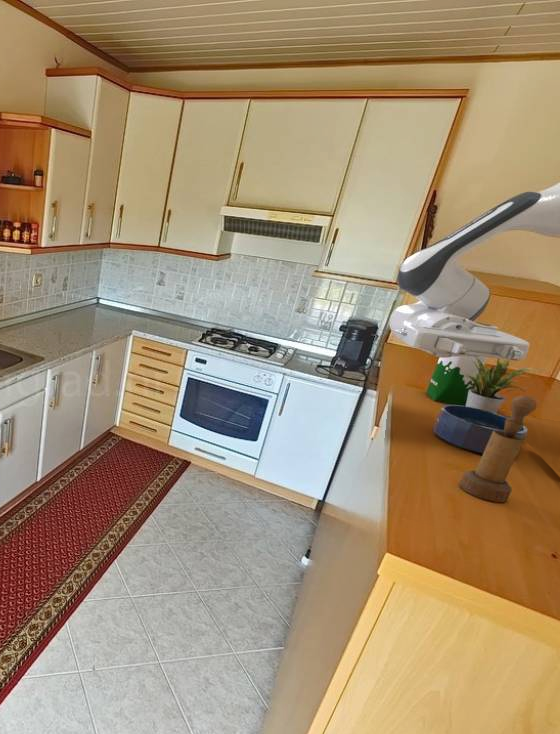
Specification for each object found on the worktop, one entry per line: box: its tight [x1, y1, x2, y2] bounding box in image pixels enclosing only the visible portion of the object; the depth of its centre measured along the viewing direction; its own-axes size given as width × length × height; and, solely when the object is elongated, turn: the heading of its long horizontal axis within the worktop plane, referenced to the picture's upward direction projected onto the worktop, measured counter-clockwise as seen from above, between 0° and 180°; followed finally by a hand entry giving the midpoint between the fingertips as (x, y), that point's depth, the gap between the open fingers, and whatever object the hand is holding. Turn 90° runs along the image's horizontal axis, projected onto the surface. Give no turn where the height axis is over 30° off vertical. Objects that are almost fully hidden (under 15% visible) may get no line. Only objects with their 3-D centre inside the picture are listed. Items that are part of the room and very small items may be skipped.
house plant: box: [463, 356, 544, 414], centre depth 118 cm, size 14×14×16 cm
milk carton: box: [425, 356, 489, 406], centre depth 129 cm, size 9×9×20 cm
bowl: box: [432, 404, 529, 455], centre depth 105 cm, size 14×14×6 cm
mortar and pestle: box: [459, 395, 538, 503], centre depth 82 cm, size 7×6×18 cm
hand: (490, 352), depth 89 cm, fingers open, 8 cm apart
